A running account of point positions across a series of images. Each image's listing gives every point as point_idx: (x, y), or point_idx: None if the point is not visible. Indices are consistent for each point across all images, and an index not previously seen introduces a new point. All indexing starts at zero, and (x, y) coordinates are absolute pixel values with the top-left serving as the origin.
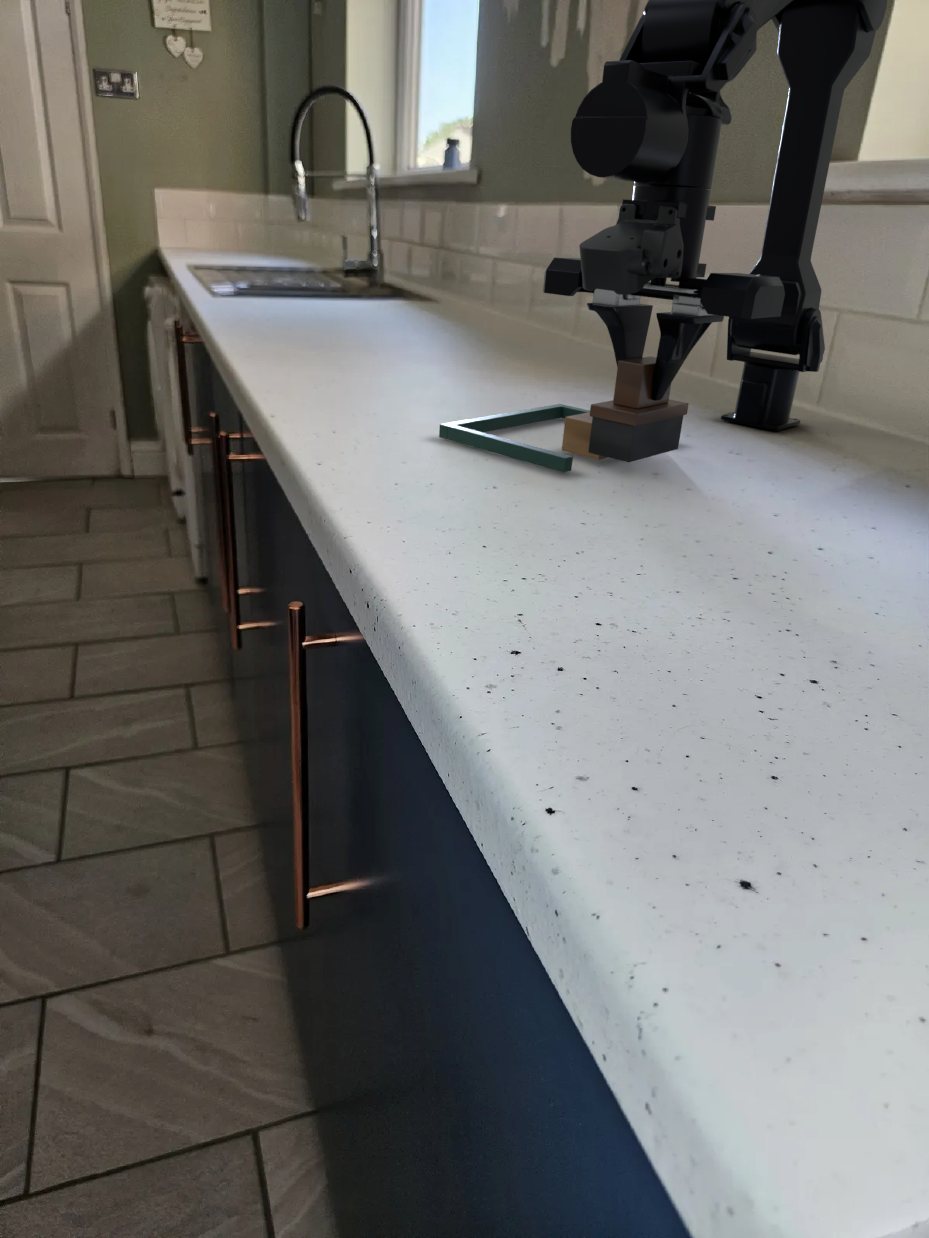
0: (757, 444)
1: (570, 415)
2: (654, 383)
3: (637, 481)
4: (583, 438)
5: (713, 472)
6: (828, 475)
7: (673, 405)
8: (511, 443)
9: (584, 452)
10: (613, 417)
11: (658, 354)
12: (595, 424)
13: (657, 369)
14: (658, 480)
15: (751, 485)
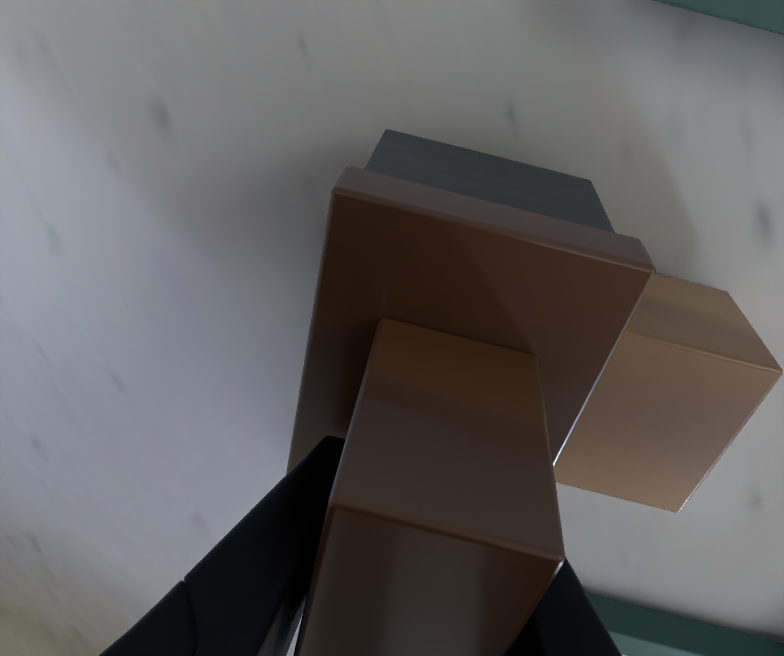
0: None
1: (767, 652)
2: (318, 490)
3: (341, 90)
4: (649, 302)
5: (208, 370)
6: (14, 501)
7: None
8: None
9: None
10: (486, 209)
11: (248, 638)
12: (591, 224)
13: (279, 547)
14: (289, 163)
15: (67, 305)
